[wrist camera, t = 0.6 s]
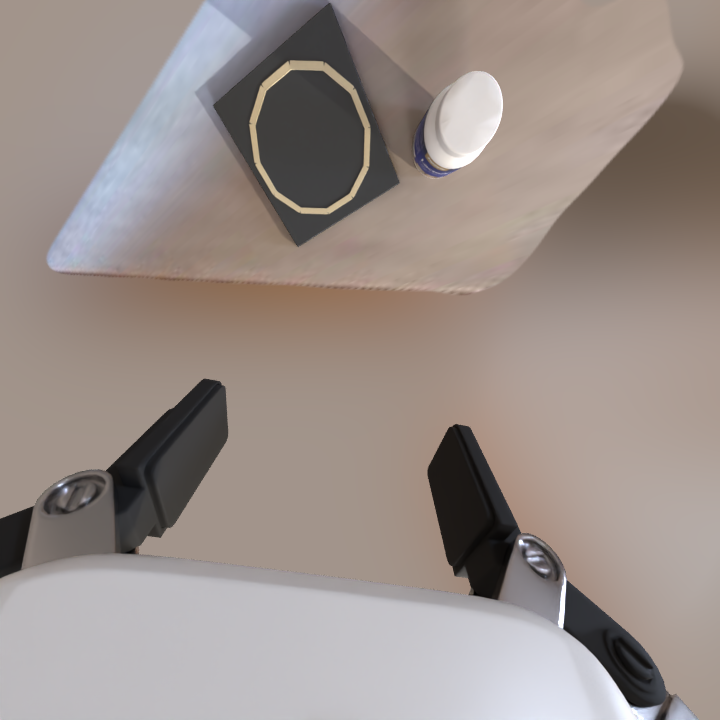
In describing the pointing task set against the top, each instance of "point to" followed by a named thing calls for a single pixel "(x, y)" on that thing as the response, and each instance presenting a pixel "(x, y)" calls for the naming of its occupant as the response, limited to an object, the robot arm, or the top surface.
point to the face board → (309, 130)
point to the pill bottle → (457, 125)
